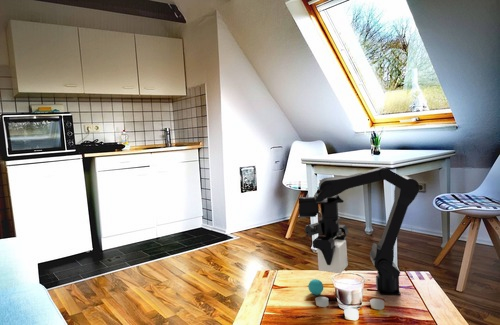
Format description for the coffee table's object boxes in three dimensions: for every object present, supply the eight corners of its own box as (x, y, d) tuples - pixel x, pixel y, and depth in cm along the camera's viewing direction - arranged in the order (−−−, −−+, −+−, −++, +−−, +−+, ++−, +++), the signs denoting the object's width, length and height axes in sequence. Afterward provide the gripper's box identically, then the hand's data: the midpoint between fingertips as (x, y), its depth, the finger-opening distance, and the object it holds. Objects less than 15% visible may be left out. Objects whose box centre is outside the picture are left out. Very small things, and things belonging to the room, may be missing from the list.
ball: (323, 290, 126) (322, 276, 125) (324, 297, 121) (323, 282, 120) (308, 290, 126) (307, 276, 126) (308, 297, 122) (308, 283, 121)
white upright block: (326, 262, 129) (325, 238, 128) (347, 265, 125) (346, 240, 124) (318, 270, 123) (317, 245, 122) (340, 273, 119) (338, 247, 118)
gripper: (317, 208, 135) (320, 249, 136) (296, 221, 119) (299, 267, 120) (347, 209, 129) (350, 252, 130) (328, 223, 113) (332, 272, 114)
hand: (332, 260), depth 124 cm, fingers closed on white upright block, 7 cm apart
